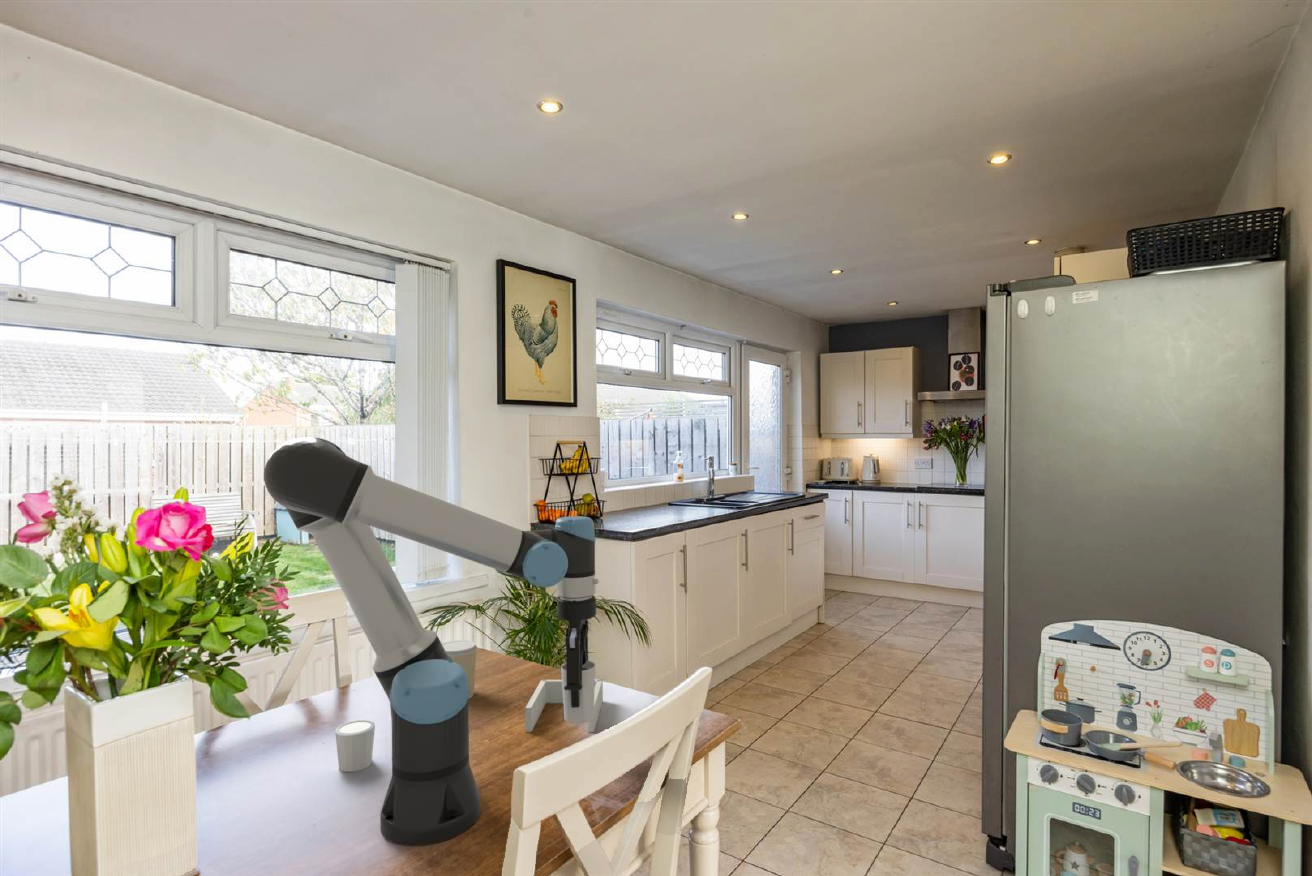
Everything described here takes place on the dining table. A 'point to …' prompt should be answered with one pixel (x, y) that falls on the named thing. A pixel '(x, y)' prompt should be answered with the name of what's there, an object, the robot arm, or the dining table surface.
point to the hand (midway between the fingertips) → (578, 715)
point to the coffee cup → (463, 658)
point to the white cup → (588, 690)
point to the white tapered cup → (355, 745)
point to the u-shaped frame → (557, 701)
